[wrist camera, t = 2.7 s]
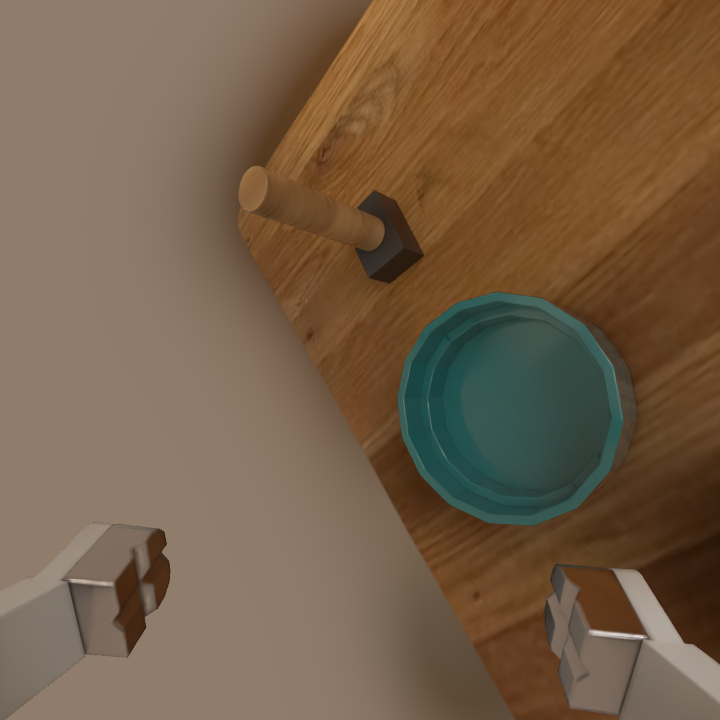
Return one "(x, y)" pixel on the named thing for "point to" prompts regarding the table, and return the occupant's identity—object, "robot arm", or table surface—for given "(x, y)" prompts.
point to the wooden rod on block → (336, 220)
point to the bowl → (515, 408)
